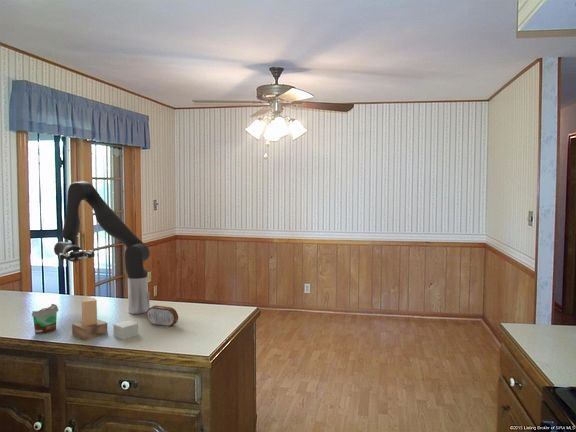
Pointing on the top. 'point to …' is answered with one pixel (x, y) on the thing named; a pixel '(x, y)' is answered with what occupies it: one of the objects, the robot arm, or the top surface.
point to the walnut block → (89, 330)
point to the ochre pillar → (89, 311)
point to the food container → (45, 319)
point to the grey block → (125, 329)
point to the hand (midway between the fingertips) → (80, 256)
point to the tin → (162, 315)
